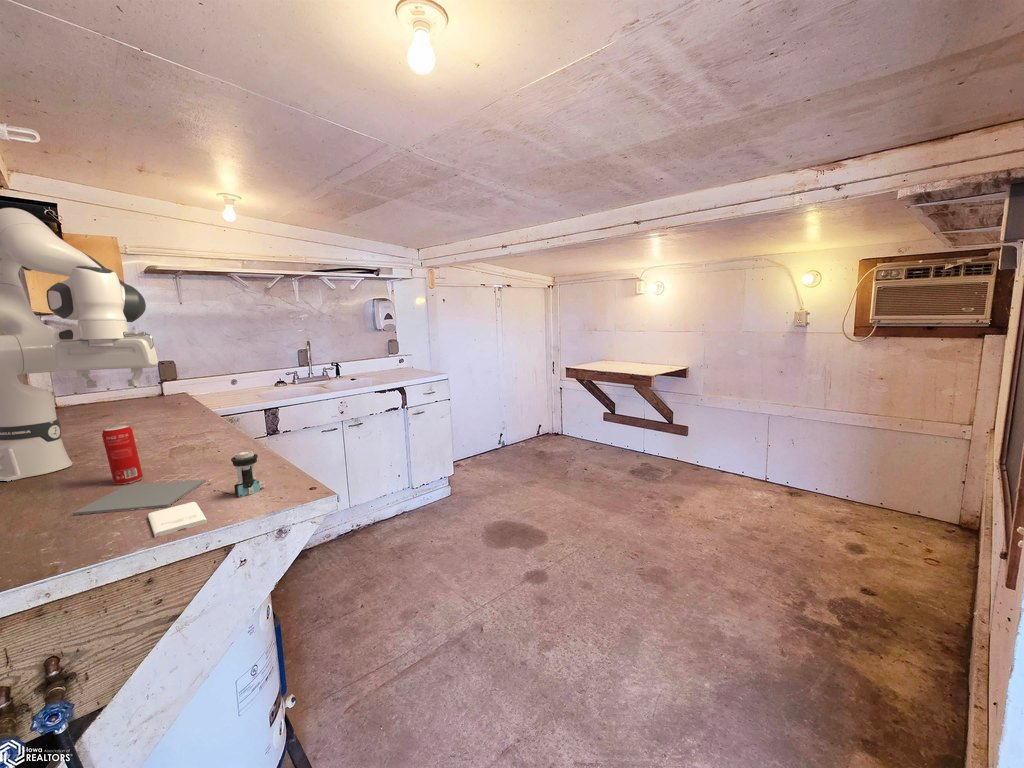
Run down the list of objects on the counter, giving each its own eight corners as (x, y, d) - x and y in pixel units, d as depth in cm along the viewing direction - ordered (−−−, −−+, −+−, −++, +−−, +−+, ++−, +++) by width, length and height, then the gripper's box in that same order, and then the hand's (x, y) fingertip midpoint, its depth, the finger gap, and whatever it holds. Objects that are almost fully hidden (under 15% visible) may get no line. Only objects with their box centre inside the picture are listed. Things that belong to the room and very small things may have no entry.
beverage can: (148, 477, 112) (141, 423, 110) (124, 486, 105) (115, 429, 103) (129, 477, 112) (121, 423, 110) (103, 486, 106) (94, 429, 104)
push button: (259, 485, 104) (255, 447, 103) (271, 489, 101) (267, 450, 100) (230, 494, 99) (226, 454, 97) (242, 499, 96) (237, 457, 94)
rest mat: (73, 515, 89) (72, 512, 89) (126, 487, 104) (126, 485, 104) (168, 507, 92) (167, 504, 92) (205, 481, 108) (205, 479, 108)
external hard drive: (196, 508, 93) (207, 525, 84) (148, 520, 87) (155, 540, 79) (195, 501, 93) (206, 517, 84) (147, 513, 87) (153, 532, 78)
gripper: (159, 331, 109) (166, 383, 110) (67, 333, 105) (76, 387, 107) (143, 331, 102) (151, 386, 104) (45, 333, 99) (54, 390, 100)
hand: (112, 387), depth 105 cm, fingers open, 8 cm apart
